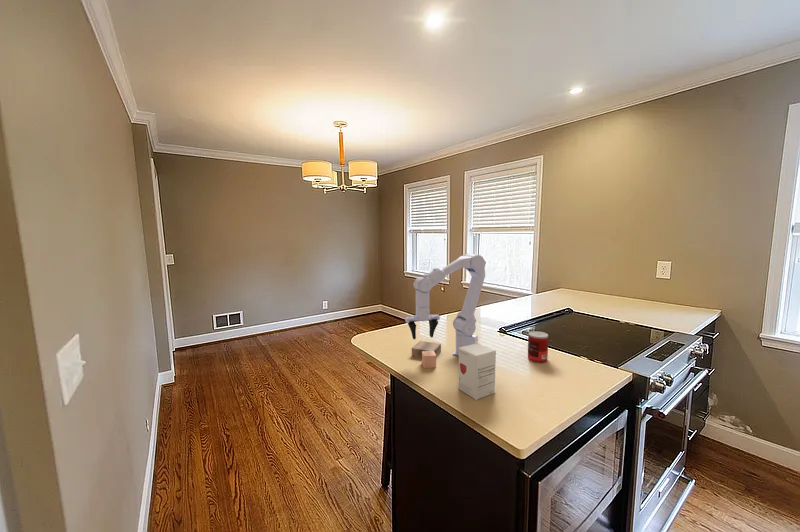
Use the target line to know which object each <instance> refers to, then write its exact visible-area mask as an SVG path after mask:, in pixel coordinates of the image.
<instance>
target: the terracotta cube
mask: <svg viewBox="0 0 800 532" xmlns="http://www.w3.org/2000/svg"><path fill="white" fill-rule="evenodd" d="M421 364H422V367H423V368H424V369H425V368H426V369H427V368H430V369H431V368H432V369H433V367H434V368H437V356H436V354H435V352H434V351H422V358H421Z"/></svg>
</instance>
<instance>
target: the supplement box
mask: <svg viewBox="0 0 800 532" xmlns="http://www.w3.org/2000/svg"><path fill="white" fill-rule="evenodd" d="M496 355H497V350H495V349H492V348H490V347H488V346H487V345H486V346H485V345H483V344H481V343H479V342H478V343H475V344H471V345H467V346H463V347H460V348H459V355H458V383H457V384H458V390H460V391H461V392H462V393H465V394H466V395H468V396H469V397H471V398H472V399H473V400H475V401H477V400H480V399H483V398H484V397H487V396H490V395H492V394H494V393H496V360H497V356H496Z"/></svg>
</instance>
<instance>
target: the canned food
mask: <svg viewBox="0 0 800 532" xmlns="http://www.w3.org/2000/svg"><path fill="white" fill-rule="evenodd" d="M527 336H528V337H527V340H528V341H527V359H528V360H529V361H530V362H533V363H537V364H542V363H546V362H547V361H548V358H549V357H548V354H549V353H548V352H549V334H548V333H546V332H544V331H539V330H538V331H537V330H536V331H535V330H534V331H530V332H528V335H527Z"/></svg>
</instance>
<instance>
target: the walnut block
mask: <svg viewBox="0 0 800 532" xmlns="http://www.w3.org/2000/svg"><path fill="white" fill-rule="evenodd" d="M422 351H434V352H435V354H436V357H438V355H440V354H441V352H442V344H441V343H437V342H432V341H425V340H424V341H423V340H419V341H418V342H417V343H416V344H415V345H413V346H412V347H411V357H414V356H415V358H420V357H421V359H422Z"/></svg>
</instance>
